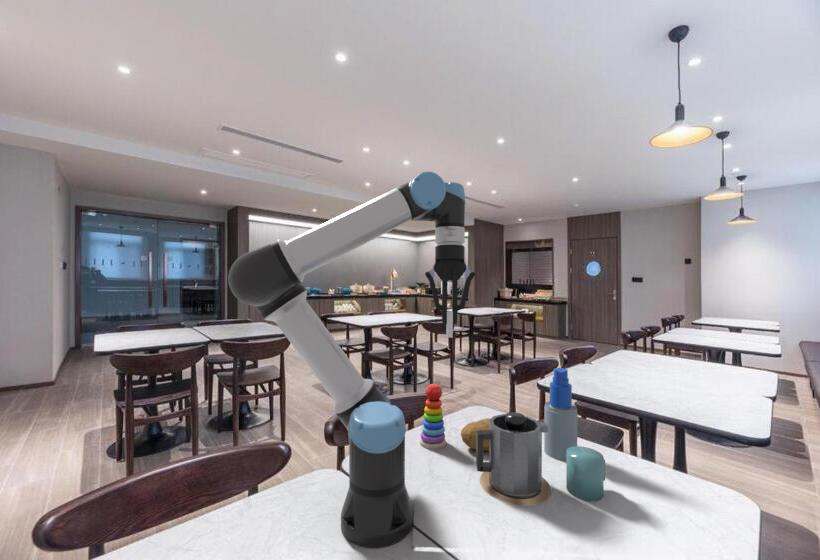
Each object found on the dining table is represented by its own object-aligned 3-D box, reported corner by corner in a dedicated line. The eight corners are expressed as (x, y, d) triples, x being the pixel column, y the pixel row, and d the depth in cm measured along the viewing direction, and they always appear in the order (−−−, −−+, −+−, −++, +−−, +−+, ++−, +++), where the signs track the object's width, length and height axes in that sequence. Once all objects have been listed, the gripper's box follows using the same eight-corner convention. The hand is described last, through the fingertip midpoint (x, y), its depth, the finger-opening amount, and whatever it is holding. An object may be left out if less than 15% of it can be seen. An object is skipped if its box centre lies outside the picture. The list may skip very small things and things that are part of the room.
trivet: (485, 506, 82) (485, 503, 82) (475, 467, 99) (475, 465, 99) (562, 509, 81) (562, 506, 81) (539, 469, 98) (539, 467, 98)
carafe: (480, 497, 84) (480, 433, 84) (473, 469, 97) (473, 413, 97) (554, 500, 83) (554, 434, 83) (538, 471, 96) (538, 414, 96)
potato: (459, 442, 114) (459, 413, 114) (509, 443, 113) (509, 413, 113) (462, 456, 105) (462, 424, 105) (516, 457, 105) (516, 424, 105)
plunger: (499, 473, 86) (499, 422, 86) (492, 454, 95) (492, 408, 95) (539, 474, 85) (539, 423, 85) (528, 455, 94) (528, 409, 94)
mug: (583, 506, 82) (583, 464, 82) (559, 487, 90) (559, 448, 90) (617, 499, 85) (617, 458, 85) (590, 480, 93) (591, 443, 93)
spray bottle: (547, 445, 112) (548, 364, 112) (579, 452, 107) (579, 368, 107) (541, 457, 105) (541, 370, 105) (574, 465, 100) (575, 374, 100)
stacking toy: (447, 451, 108) (447, 388, 108) (420, 451, 108) (420, 388, 108) (444, 439, 116) (445, 380, 116) (419, 439, 116) (419, 380, 116)
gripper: (424, 243, 90) (423, 338, 90) (477, 243, 89) (476, 339, 90) (424, 246, 98) (424, 334, 98) (473, 246, 97) (473, 334, 97)
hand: (449, 336), depth 94 cm, fingers closed
